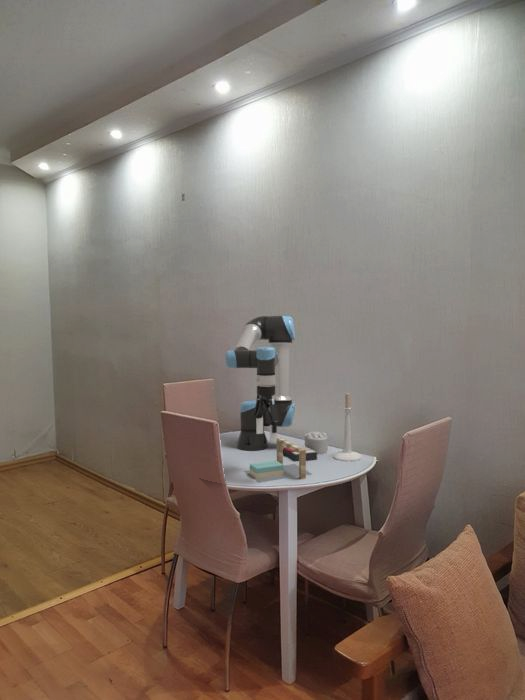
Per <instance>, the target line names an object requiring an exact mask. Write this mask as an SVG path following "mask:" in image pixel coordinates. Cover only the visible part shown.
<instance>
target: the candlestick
mask: <svg viewBox="0 0 525 700" xmlns="http://www.w3.org/2000/svg"><path fill="white" fill-rule="evenodd" d="M344 394H345V395H344V396H345V397H344V398H345V400H344V401H345V403H344V404H345V405H344V407H343V409H344V413H345V415H344V417H345V418H344V431H343V432H344V433H343V434H344V436H343V449H342V451H338V452H335V453H334V454H333V456H332V458H333V459H334V460H337V461H339V460H340V462H347V461H351V462H357V461H356V460H358V461H360V460H359V459H361V458H362V455H361V454H359V453H358V452H356V451H352V439H351V438H352V437H351V436H352V435H351V417H350V413H351V409H352V407H351V404H350V403H351V402H350V401H351V397H350V396H351V393H349V392H347V393H344ZM362 459H363V458H362ZM362 459H361V460H362Z"/></svg>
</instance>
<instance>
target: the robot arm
mask: <svg viewBox="0 0 525 700" xmlns="http://www.w3.org/2000/svg"><path fill="white" fill-rule="evenodd" d="M295 339H296V330H295V323H294V320H293V318H292V317H291V316H288V315H268V316H267V315H266V316H265V315H263V316H262V315H261V316H256V317H254V318H253V319H251V320H249V321H248V322H246V323H245V324H244V326H243V328H242V329H241V336H240V338H239V341H238V343H237V345H236V346H235V349H231V350H227V351H226V353H225V364H226V367H227V368H228V369H229V368H233V369H256V378H255V380H256V398H255V399H249V400H246V401H243V402H241V404H240V411H239V414H240V433H239V437H238V439H237V442H236V444H237V449H239V450H241V451H242V450H243V451H261V450H265V449H267V448H268V446H269V443H268V442H269V441H270V442H275V441H276V442H277V438H278V428H279V427H280V428H286V427H291V426H292V425H293V421H294V419H295V418H294V417H295V409H296V403H294V402H293V399H292V397H290V393H289V392H290V346H291V345H292V344H293V341H294V340H295ZM262 340H265V341H268V345H269V346H259V347H257V348H256V349H255V347H256V344H257V342H258V341H262ZM254 349H255V350H254ZM265 427H269V441H268V438H267V437H266V433H265Z"/></svg>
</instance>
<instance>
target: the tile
mask: <svg viewBox="0 0 525 700" xmlns="http://www.w3.org/2000/svg"><path fill="white" fill-rule="evenodd" d="M283 465H284V463H283V464H281V463H279V462H278V461H277V460H272V461H262V462H256V463H250V464H249V470H250V474H251V475H252V476H254V477H255V478H256V479H258V478H264V477H271V476H278V475H284V466H283Z"/></svg>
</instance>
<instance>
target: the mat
mask: <svg viewBox="0 0 525 700" xmlns="http://www.w3.org/2000/svg"><path fill="white" fill-rule="evenodd" d="M283 466H284V475H278V476H271V477H264V478H258V479H256V478H255V477H254V476H252V475H251V474H250V469H248V470H243V472H244V473H245V474H247V475H248V476H249V477H251V478H252V479H253V480H255V482H257V483H264V482H271V481H272V482H273V481H277V480H283V479H292V478H296V477H298V478H299V465H297V464H296V463H292V464H286V465H285V464H283ZM311 475H313V473H311V472H310V471H308V470H306V476H311Z"/></svg>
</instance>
